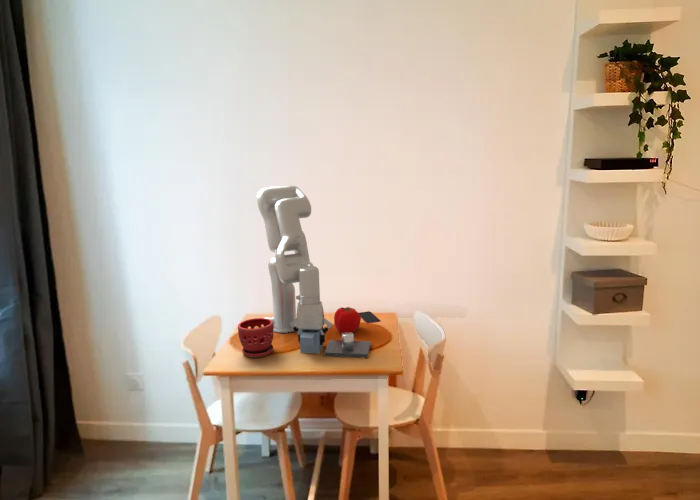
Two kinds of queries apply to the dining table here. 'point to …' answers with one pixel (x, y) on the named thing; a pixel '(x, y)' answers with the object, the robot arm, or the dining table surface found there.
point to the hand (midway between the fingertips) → (311, 343)
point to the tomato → (347, 319)
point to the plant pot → (256, 337)
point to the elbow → (310, 341)
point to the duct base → (352, 352)
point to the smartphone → (369, 317)
